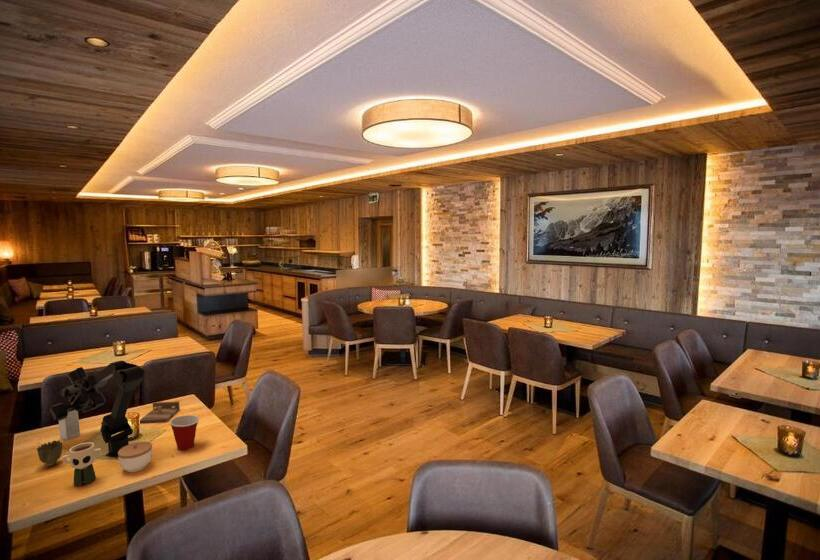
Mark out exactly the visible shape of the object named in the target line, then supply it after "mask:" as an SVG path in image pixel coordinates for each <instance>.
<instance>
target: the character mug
mask: <svg viewBox="0 0 820 560" xmlns="http://www.w3.org/2000/svg"><path fill="white" fill-rule="evenodd" d="M68 453H69V454H65V455H63V456H62V463H63V465H69V464H70V467H71V468H72V469H74V471H73V485H74V486H82V483H84V485H88V484H89V483H92V482H93V481H94V480H95V479H96V478H97V477H96V471H95V469H94V465H93V463H94V462H95V461H96V459H97V458H101V457H102V456H103V454H102V448H100V447H99V448H95V443H94V442H91V441H90V442H88V441H87V442H82V443H79V444H76V445H73V446H72V447H70V448H69V450H68ZM96 453H97V454H96ZM68 458H69V460H67V459H68Z"/></svg>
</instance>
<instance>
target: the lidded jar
mask: <svg viewBox="0 0 820 560" xmlns="http://www.w3.org/2000/svg"><path fill="white" fill-rule="evenodd" d="M152 448H153V443H151V442H149V441H137V442H133V443H130V444H129V445H127V446H125V447H123V448H121V449H120V450H119V451H118V457H117V458H118V462H119V464H120V467H121V469H123V470H124V471H126V472H127V473H137V472H140V471H142V470H144V469H145V468H146V467H147V465H148V464H149V463H150V461H151V460H152V455H153V454H152V453H153V449H152Z"/></svg>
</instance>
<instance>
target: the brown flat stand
mask: <svg viewBox="0 0 820 560" xmlns="http://www.w3.org/2000/svg"><path fill="white" fill-rule="evenodd" d="M180 409H181V408H180V401H159V402H152V410H150V411H149V412H148V413H146V414H145V415H144V416H143V417H142V418H140V425H142V424H157V423H158V424H160V423H162V424H163V423H168V422H170V421H171V420H172V419H173V417H174V416H175V415H176V414H178V412H180Z"/></svg>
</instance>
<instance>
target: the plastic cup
mask: <svg viewBox="0 0 820 560" xmlns="http://www.w3.org/2000/svg"><path fill="white" fill-rule="evenodd" d="M199 422H200V417H199V416H197V415H194V414H184V415H180V416H175V417H174V418H173V417H172V418H171V419H170V420H169V425H170V426H171V429H172V433H173V436H174V440H175V441H174V442H175V443H176V447H177V449H178V451H188V450H190V449H192V448H193V447H194V446H195V439H196V433H197V426H198V423H199Z"/></svg>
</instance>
